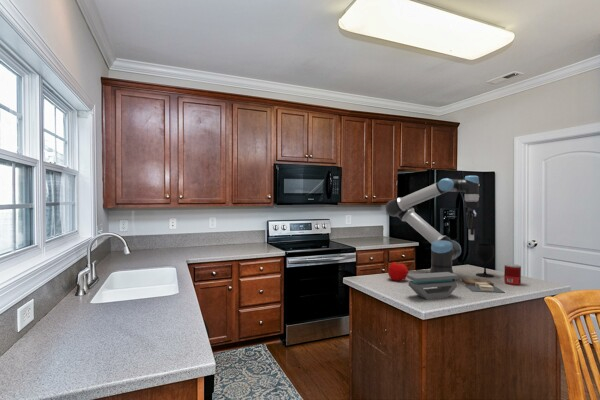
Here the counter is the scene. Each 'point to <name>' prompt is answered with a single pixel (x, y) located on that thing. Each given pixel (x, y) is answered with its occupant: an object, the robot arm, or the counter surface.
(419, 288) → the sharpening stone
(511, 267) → the canned food
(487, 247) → the wine glass
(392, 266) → the tomato
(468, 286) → the rubber mat
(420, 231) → the robot arm
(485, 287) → the birch tile
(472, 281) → the walnut deck
